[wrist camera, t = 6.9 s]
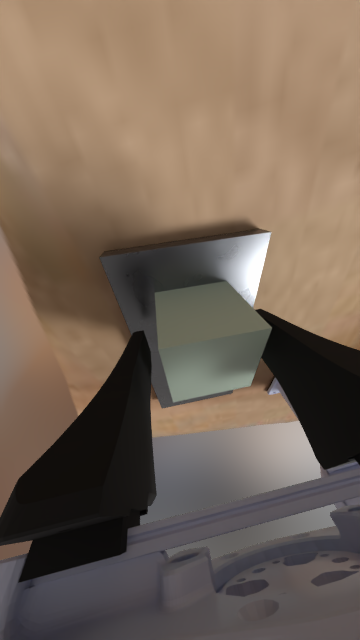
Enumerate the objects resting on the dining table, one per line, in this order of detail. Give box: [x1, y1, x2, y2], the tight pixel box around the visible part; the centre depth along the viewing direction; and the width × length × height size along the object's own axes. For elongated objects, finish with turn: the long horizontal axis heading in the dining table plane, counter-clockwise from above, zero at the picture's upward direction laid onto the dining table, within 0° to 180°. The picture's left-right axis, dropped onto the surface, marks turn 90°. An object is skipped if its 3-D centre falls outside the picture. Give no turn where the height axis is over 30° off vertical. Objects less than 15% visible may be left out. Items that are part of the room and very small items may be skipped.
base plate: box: [99, 229, 271, 408], centre depth 14 cm, size 10×20×4 cm, turn 6°
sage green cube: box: [155, 281, 272, 402], centre depth 10 cm, size 5×5×5 cm
